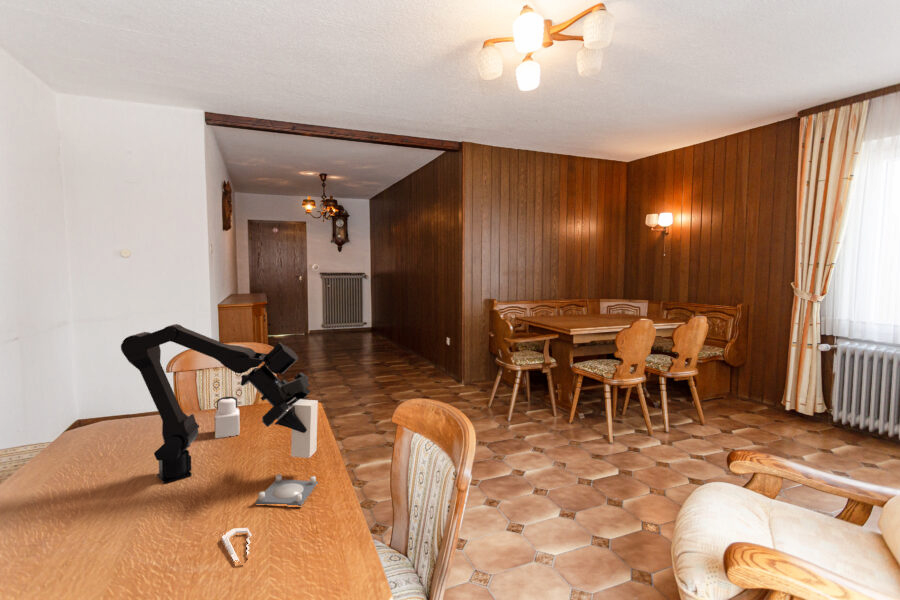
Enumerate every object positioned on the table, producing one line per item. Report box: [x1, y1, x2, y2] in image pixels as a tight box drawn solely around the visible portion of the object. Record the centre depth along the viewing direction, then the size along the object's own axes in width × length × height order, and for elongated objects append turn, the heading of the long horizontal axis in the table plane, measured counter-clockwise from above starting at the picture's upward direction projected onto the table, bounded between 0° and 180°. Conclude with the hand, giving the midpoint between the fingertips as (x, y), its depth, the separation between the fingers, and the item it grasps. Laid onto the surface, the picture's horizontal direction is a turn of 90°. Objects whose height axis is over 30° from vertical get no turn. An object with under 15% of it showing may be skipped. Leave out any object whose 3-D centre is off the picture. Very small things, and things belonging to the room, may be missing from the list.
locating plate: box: [255, 473, 319, 506], centre depth 110 cm, size 11×11×2 cm
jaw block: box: [290, 399, 319, 459], centre depth 120 cm, size 5×5×14 cm
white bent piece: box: [221, 527, 253, 562], centre depth 89 cm, size 13×5×2 cm, turn 40°
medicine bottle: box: [214, 396, 240, 439], centre depth 147 cm, size 7×7×12 cm
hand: (309, 428), depth 119 cm, fingers closed on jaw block, 5 cm apart
